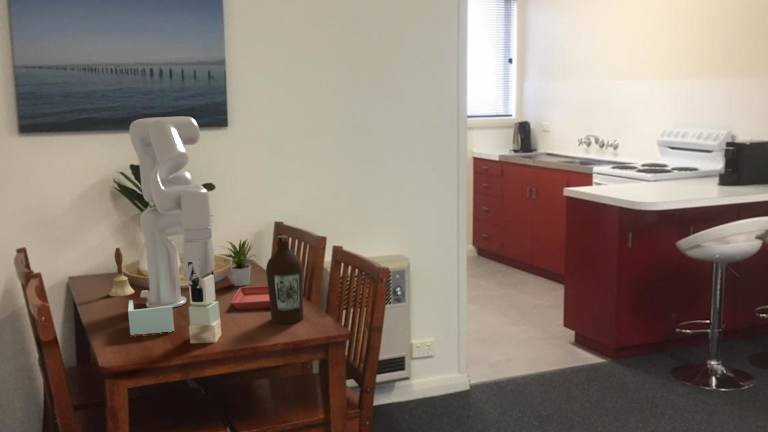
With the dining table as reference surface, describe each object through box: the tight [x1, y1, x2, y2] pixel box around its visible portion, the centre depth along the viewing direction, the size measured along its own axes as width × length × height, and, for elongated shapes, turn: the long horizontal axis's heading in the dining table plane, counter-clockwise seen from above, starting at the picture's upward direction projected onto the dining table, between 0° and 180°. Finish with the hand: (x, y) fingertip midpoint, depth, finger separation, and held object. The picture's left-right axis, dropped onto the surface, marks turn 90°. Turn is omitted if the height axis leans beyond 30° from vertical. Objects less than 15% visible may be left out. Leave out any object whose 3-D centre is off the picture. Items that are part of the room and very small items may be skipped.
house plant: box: [217, 237, 256, 287], centre depth 280 cm, size 14×14×16 cm
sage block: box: [188, 300, 221, 325], centre depth 221 cm, size 6×6×5 cm
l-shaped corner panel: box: [127, 299, 175, 335], centre depth 233 cm, size 12×12×8 cm
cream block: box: [188, 274, 216, 305], centre depth 220 cm, size 5×5×7 cm
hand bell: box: [108, 247, 136, 297], centre depth 273 cm, size 8×8×16 cm
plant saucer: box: [230, 285, 270, 310], centre depth 257 cm, size 18×18×3 cm
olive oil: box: [265, 235, 304, 325], centre depth 235 cm, size 11×11×25 cm
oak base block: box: [188, 318, 222, 344], centre depth 222 cm, size 7×7×5 cm
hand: (202, 298), depth 220 cm, fingers closed on cream block, 5 cm apart
